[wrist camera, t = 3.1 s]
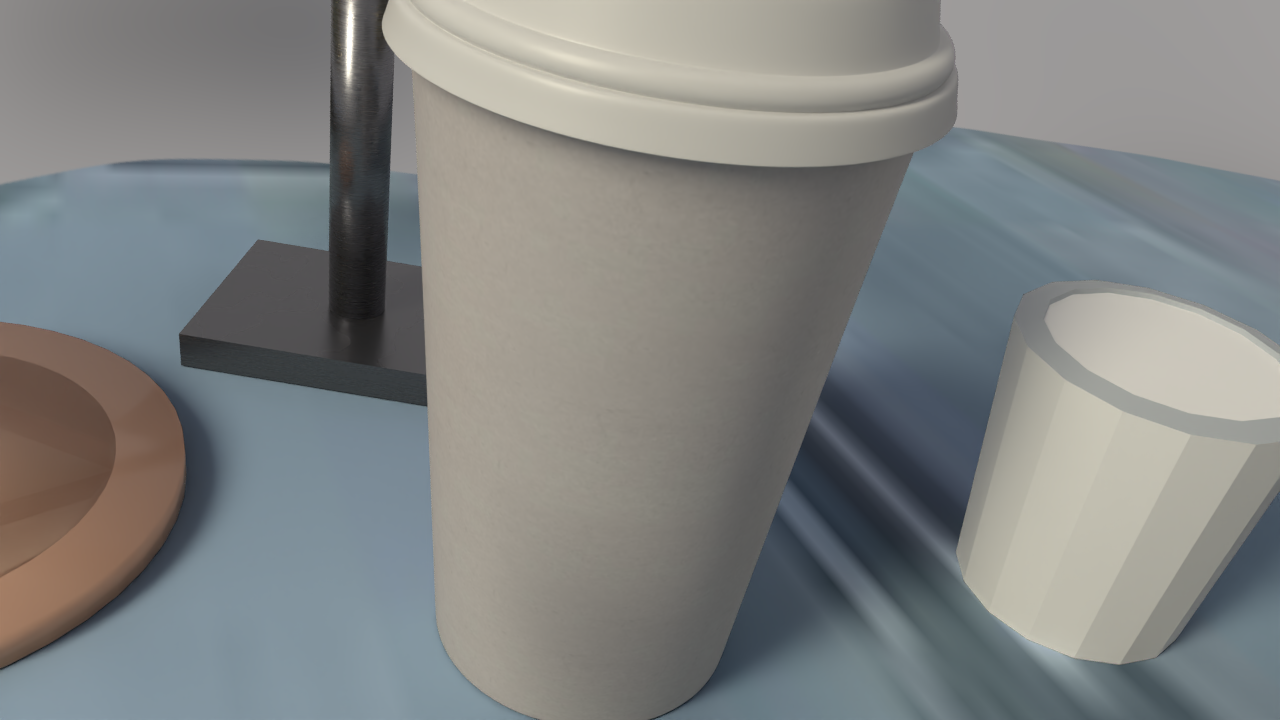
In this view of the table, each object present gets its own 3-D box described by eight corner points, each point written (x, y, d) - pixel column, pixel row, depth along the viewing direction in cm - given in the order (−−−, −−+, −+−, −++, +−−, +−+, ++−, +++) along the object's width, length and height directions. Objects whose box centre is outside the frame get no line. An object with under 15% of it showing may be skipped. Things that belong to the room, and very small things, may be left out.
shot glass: (927, 635, 28) (1020, 386, 24) (935, 471, 33) (1011, 250, 30) (1229, 719, 27) (1373, 473, 23) (1184, 535, 32) (1293, 316, 29)
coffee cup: (406, 460, 30) (439, -169, 22) (772, 505, 31) (928, -91, 23) (314, 764, 22) (316, -58, 14) (815, 817, 23) (1077, 57, 15)
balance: (677, 337, 38) (762, -115, 30) (666, 445, 32) (765, -68, 25) (87, 239, 37) (34, -238, 30) (-18, 332, 32) (-111, -216, 25)
